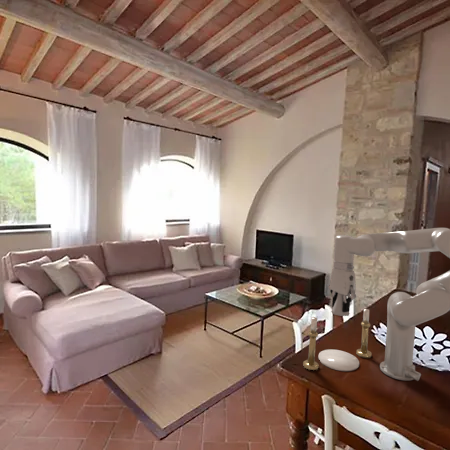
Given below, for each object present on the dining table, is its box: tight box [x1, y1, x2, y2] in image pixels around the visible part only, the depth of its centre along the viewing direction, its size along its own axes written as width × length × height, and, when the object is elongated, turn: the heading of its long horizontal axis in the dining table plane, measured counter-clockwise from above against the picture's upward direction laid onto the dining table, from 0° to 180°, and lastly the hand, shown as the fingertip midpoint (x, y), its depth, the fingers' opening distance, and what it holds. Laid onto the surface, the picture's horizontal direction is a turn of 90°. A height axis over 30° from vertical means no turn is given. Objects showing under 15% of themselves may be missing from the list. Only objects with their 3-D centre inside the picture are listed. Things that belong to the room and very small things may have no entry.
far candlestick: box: [355, 308, 373, 359], centre depth 136 cm, size 6×6×20 cm
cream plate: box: [317, 349, 360, 372], centre depth 132 cm, size 16×16×1 cm
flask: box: [331, 293, 350, 317], centre depth 129 cm, size 7×7×10 cm
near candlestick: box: [302, 316, 320, 372], centre depth 125 cm, size 6×6×20 cm
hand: (340, 308), depth 130 cm, fingers closed on flask, 5 cm apart
